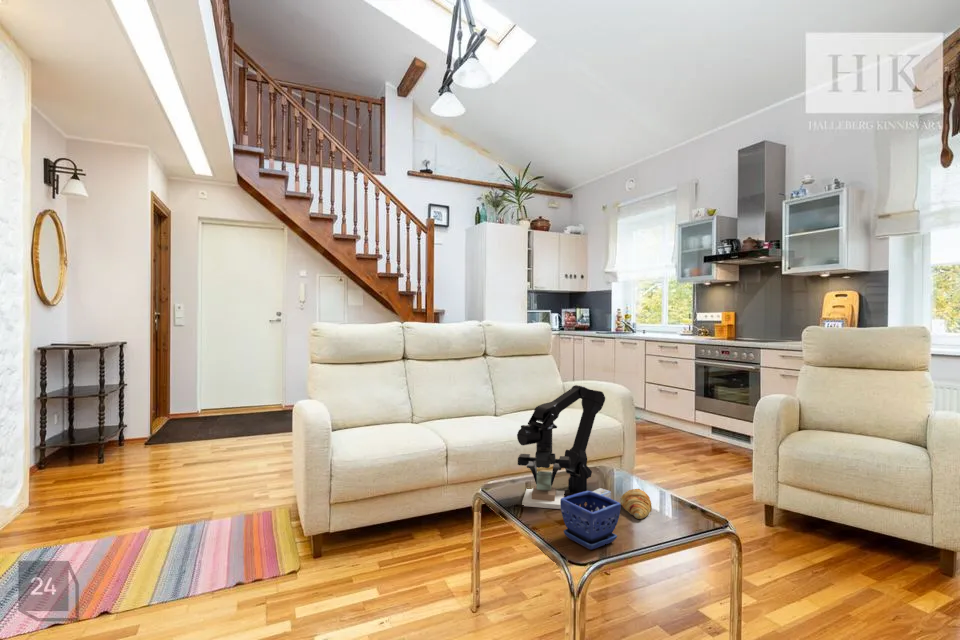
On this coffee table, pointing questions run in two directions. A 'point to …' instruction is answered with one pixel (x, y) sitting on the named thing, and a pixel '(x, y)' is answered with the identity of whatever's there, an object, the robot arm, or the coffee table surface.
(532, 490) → the baseboard
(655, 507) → the coffee table surface
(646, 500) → the croissant
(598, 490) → the medicine box
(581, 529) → the flower pot
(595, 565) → the coffee table surface
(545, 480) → the sage cube
